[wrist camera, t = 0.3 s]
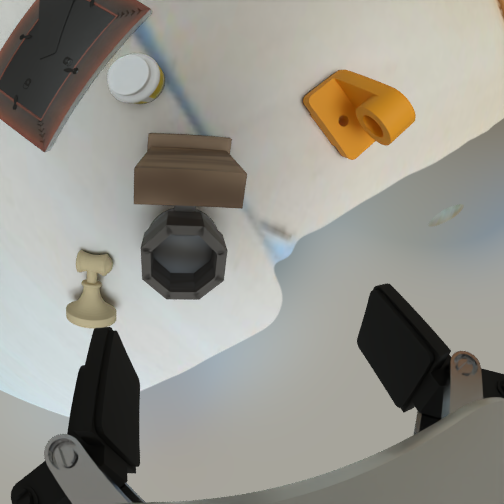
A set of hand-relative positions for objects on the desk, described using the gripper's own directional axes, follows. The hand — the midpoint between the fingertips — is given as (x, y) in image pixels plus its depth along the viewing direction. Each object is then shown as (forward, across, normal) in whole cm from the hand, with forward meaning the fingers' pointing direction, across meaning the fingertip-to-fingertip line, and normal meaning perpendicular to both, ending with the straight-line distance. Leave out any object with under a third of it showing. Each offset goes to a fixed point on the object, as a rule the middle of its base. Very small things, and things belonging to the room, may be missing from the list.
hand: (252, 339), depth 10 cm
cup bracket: (+29, +3, +4) cm, 30 cm away
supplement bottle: (+30, +6, -12) cm, 33 cm away
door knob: (+30, +18, +15) cm, 38 cm away
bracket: (+30, -19, -6) cm, 36 cm away
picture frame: (+30, +19, -19) cm, 40 cm away
